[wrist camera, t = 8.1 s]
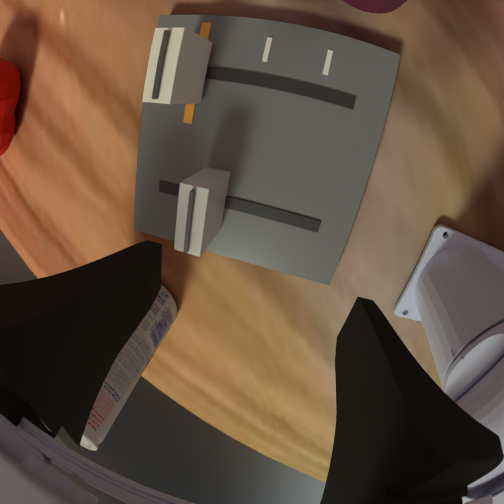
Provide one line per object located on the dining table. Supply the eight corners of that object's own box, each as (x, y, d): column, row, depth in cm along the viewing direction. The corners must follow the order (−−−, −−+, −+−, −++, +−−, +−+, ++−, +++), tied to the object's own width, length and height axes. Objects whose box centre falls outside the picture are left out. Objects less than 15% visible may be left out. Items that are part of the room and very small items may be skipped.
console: (395, 57, 13) (425, 40, 9) (329, 276, 21) (329, 325, 16) (168, 19, 15) (122, 0, 10) (142, 224, 22) (102, 256, 18)
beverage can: (126, 265, 25) (16, 385, 12) (181, 285, 25) (84, 432, 12) (128, 310, 28) (44, 423, 15) (177, 330, 27) (104, 461, 14)
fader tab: (212, 41, 14) (181, 26, 10) (200, 103, 16) (167, 104, 12) (188, 40, 14) (152, 27, 10) (176, 100, 16) (139, 101, 12)
